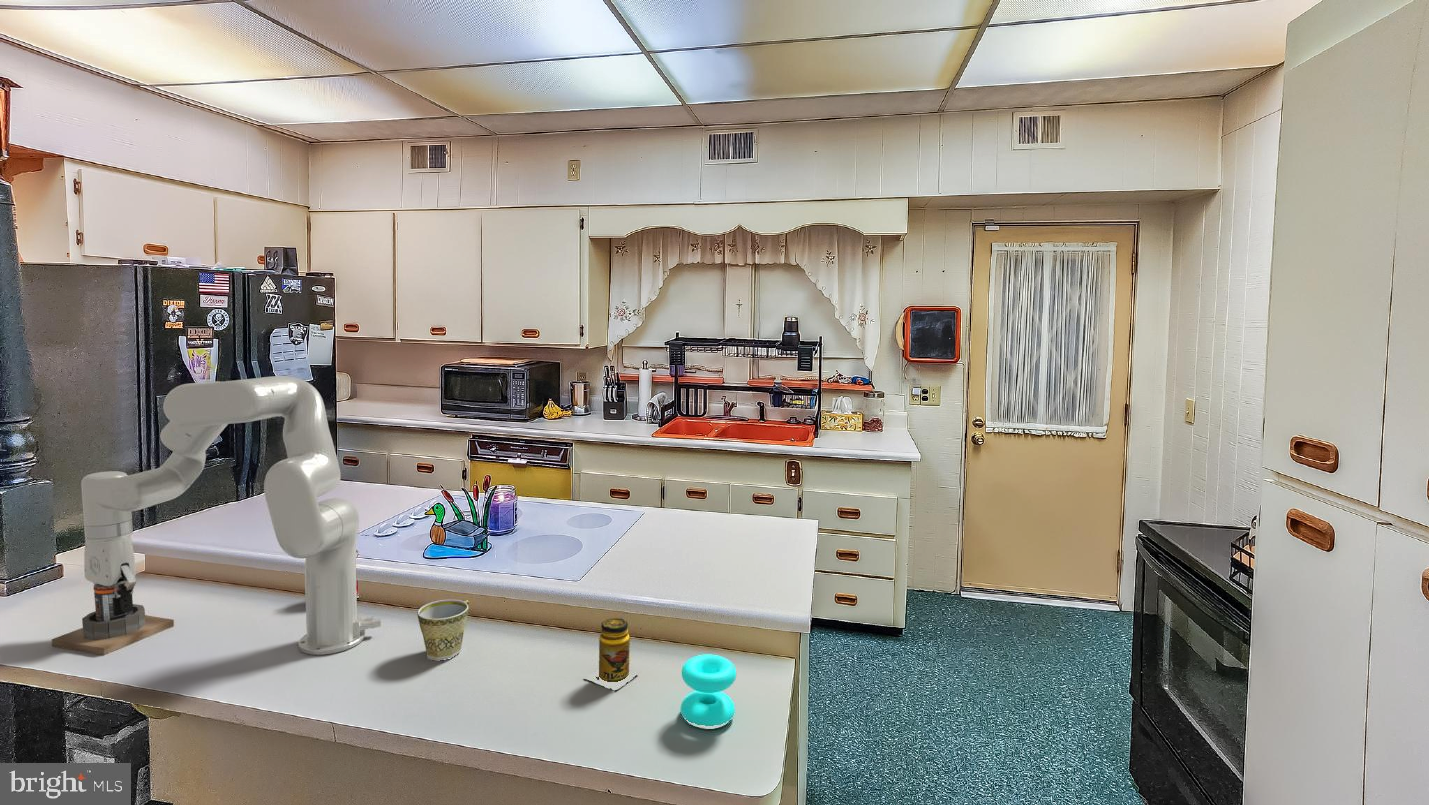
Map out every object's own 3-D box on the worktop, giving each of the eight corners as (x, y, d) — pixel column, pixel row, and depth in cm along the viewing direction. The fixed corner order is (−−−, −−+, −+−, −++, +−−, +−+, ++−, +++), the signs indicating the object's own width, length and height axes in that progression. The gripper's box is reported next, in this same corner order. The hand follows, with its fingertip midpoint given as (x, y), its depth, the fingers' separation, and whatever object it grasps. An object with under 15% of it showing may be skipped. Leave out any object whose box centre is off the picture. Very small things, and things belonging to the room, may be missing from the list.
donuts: (670, 664, 118) (707, 646, 125) (668, 716, 119) (705, 695, 126) (711, 685, 111) (747, 665, 118) (709, 740, 112) (745, 716, 119)
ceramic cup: (445, 669, 132) (445, 622, 131) (407, 660, 135) (406, 614, 134) (487, 641, 144) (487, 598, 143) (451, 633, 148) (450, 591, 146)
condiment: (616, 692, 126) (617, 633, 125) (582, 679, 130) (583, 622, 129) (638, 676, 132) (639, 619, 131) (605, 664, 136) (606, 609, 135)
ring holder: (125, 618, 150) (124, 597, 149) (173, 626, 147) (172, 604, 146) (52, 646, 136) (50, 623, 136) (104, 655, 133) (102, 632, 133)
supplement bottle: (96, 620, 141) (92, 570, 140) (132, 613, 145) (129, 564, 144) (96, 630, 137) (93, 578, 136) (134, 621, 141) (131, 571, 140)
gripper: (64, 528, 139) (70, 609, 141) (110, 540, 132) (116, 625, 134) (107, 519, 146) (113, 597, 148) (153, 530, 139) (158, 611, 141)
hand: (114, 609), depth 141 cm, fingers closed on supplement bottle, 5 cm apart
